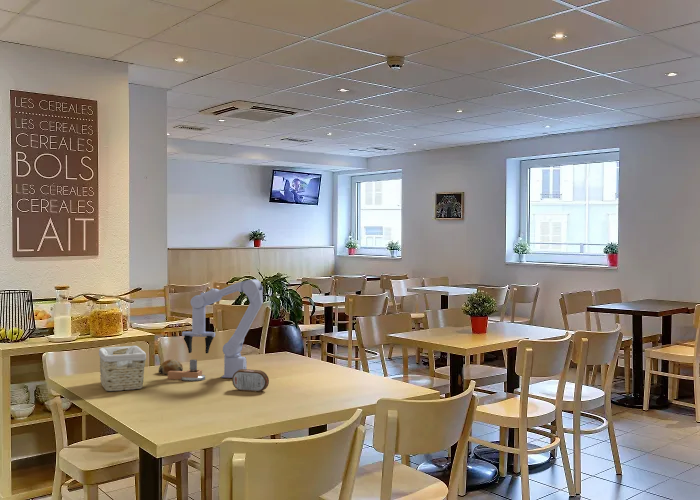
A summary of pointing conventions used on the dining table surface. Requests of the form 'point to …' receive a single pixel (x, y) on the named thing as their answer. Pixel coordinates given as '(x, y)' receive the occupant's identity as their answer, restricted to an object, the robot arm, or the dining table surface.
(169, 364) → the bread roll
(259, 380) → the tin
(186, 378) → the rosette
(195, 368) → the pin
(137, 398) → the dining table surface
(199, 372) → the bracket
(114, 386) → the storage basket
